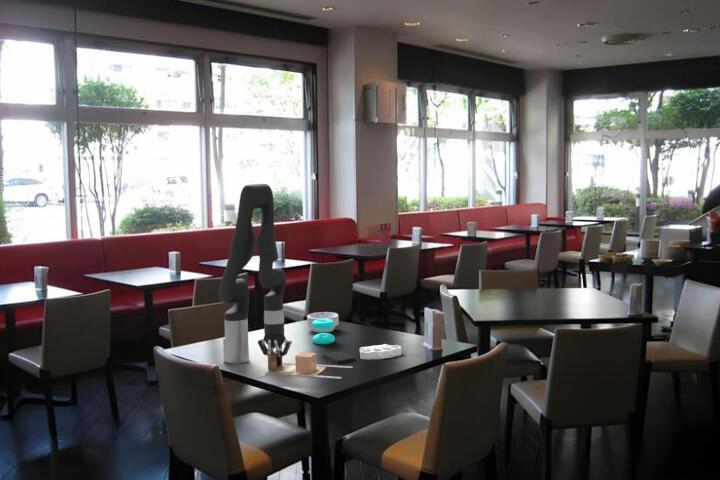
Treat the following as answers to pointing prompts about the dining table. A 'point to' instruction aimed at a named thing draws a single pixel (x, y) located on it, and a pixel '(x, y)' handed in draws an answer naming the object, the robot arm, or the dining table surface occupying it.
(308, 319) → the clear glass round bowl
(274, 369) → the wooden stand
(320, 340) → the donuts
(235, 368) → the dining table surface
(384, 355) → the white brass knuckles
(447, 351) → the dining table surface
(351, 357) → the carrying case or bag
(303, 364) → the block
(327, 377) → the rails
